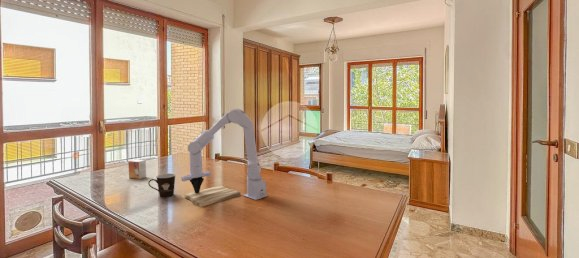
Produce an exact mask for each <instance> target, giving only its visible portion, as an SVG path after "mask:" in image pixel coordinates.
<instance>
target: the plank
mask: <svg viewBox="0 0 579 258" xmlns="http://www.w3.org/2000/svg"><path fill="white" fill-rule="evenodd" d="M227 190H230V189H229V188H228V187H226V186H223V185H216V186H212V187H209V188H205V189H200V191H199V193H195V191H192V192H189V193H185V194H184V198H185V199H187V200H189V201H191V202H193V200H194V199H198V198H201V197H205V196H208V195H212V194H216V193H219V192H223V191H227Z"/></svg>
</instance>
